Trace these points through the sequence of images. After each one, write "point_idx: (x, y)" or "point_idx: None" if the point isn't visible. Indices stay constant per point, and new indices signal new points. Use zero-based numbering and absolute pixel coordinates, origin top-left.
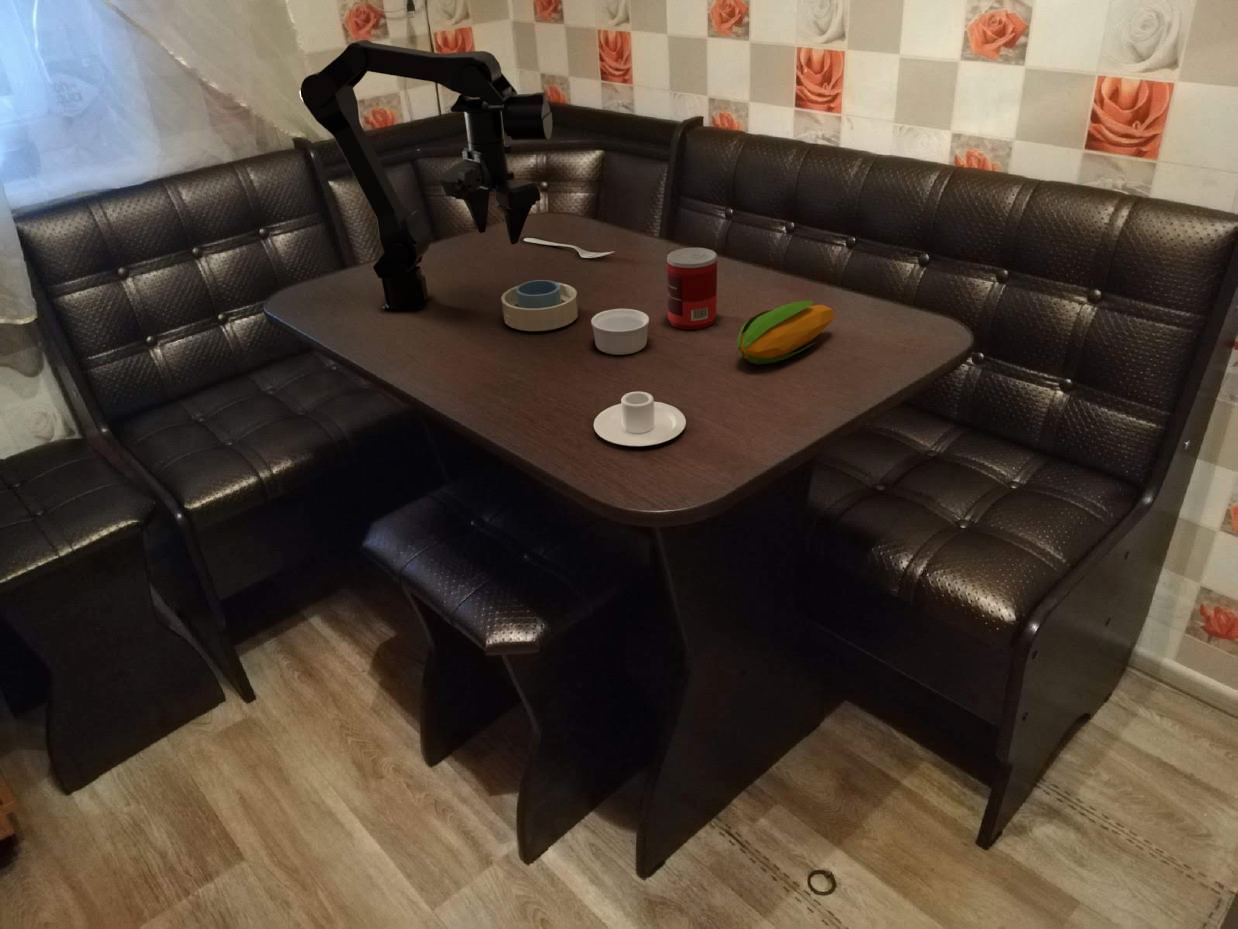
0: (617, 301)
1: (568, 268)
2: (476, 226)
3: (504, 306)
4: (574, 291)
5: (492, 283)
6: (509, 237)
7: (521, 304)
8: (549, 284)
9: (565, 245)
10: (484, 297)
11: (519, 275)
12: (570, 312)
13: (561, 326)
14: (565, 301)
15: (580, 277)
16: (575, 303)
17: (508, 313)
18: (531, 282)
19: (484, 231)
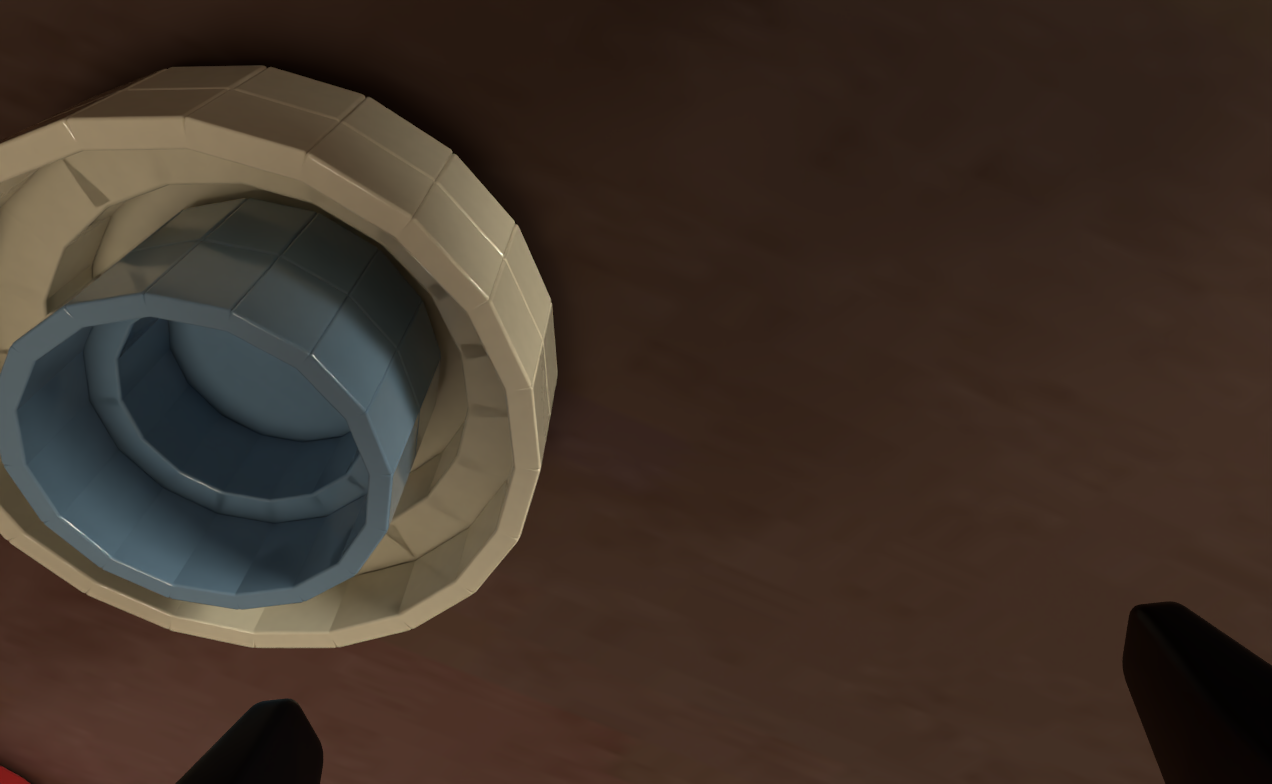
0: (354, 718)
1: (971, 753)
2: (1254, 664)
3: (167, 107)
4: (187, 626)
5: (1172, 356)
6: (222, 778)
7: (156, 253)
8: (308, 564)
9: None
10: (970, 188)
11: (1129, 543)
12: None
13: None
14: None
15: (798, 739)
16: None
17: (117, 96)
18: (370, 483)
19: (1125, 664)
